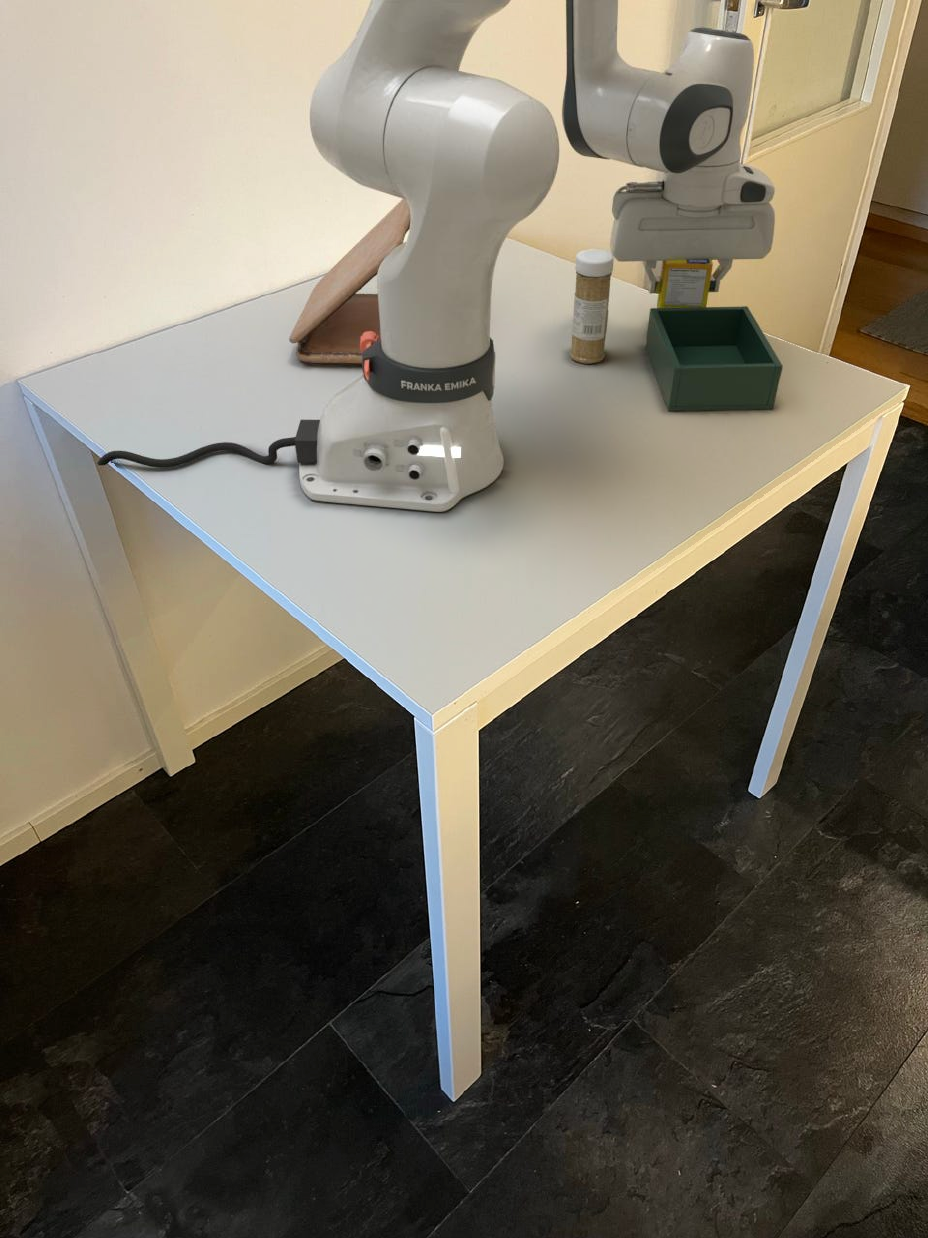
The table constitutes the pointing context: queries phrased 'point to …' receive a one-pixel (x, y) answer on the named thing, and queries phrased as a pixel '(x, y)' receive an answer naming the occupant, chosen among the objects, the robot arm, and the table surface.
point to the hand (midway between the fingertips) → (683, 291)
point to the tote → (712, 359)
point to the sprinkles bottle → (591, 305)
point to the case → (348, 296)
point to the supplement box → (685, 283)
